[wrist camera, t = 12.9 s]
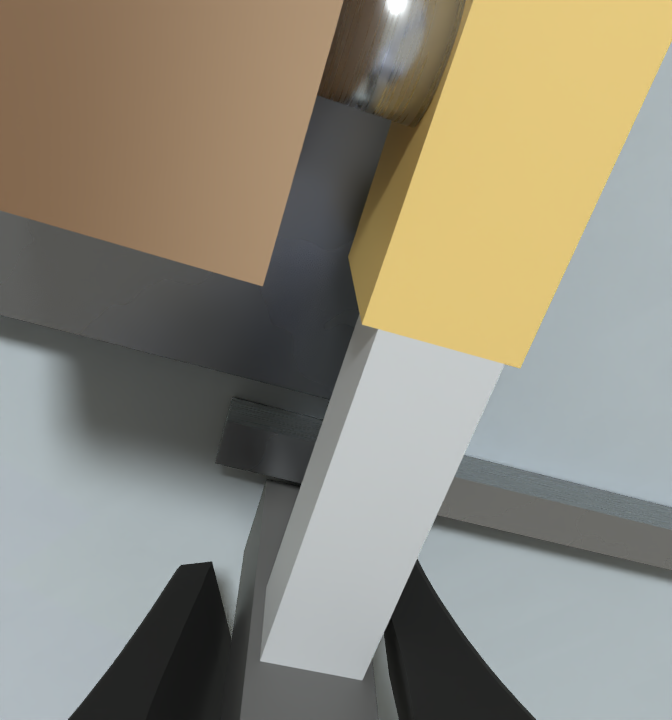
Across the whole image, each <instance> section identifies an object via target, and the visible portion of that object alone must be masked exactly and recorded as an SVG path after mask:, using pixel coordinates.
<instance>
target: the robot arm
mask: <svg viewBox="0 0 672 720" xmlns="http://www.w3.org/2000/svg"><path fill="white" fill-rule="evenodd" d="M384 638H385V646H386V654H387V661H388V669H389V676H390V681H391V685H392V690H393V694H394V699H395V703H396V708H397V713H398V717H399V720H536V719H535V718H534V717H533V716H532V715H531V714H530V713H529V712H528V710H527V709H526V708H525V707H524V706H523V705H522V704H521V703H520V702H519V701H518V700H517V699H516V698H515V696H514V695H513V694H512V693H511V692H510V691H509V690H508V689H507V687H506V686H505V685H504V684H503V683H502V682H501V681H500V679H499V678H498V677H497V676H496V675H495V673H494V672H493V671H492V670H491V669H490V667H489V666H488V665H487V664H486V662H485V661H484V660H483V659H482V657H481V656H480V655H479V653H478V652H477V651H476V650H475V648H474V647H473V646H472V644H471V643H470V642H469V640H468V639H467V638H466V636H465V635H464V634H463V632H462V631H461V629H460V628H459V627H458V625H457V624H456V622H455V621H454V619H453V618H452V616H451V615H450V613H449V612H448V610H447V609H446V607H445V606H444V604H443V603H442V601H441V600H440V598H439V597H438V595H437V593H436V592H435V590H434V589H433V587H432V585H431V583H430V582H429V580H428V578H427V576H426V575H425V573H424V571H423V569H422V567H421V565H420V563H419V561H418V559H417V560H416V562H415V565H414V567H413V569H412V571H411V573H410V576H409V578H408V580H407V582H406V585H405V587H404V589H403V591H402V593H401V596H400V598H399V600H398V602H397V605H396V607H395V609H394V611H393V613H392V616H391V618H390V620H389V622H388V625H387V627H386V629H385V631H384ZM230 648H231V636H230V632H229V628H228V624H227V620H226V616H225V612H224V608H223V604H222V600H221V596H220V592H219V588H218V584H217V580H216V576H215V572H214V568H213V564H212V562H204V563H195V564H186V565H181V566H180V567H179V568H178V569H177V570H176V572H175V573H174V575H173V576H172V578H171V579H170V581H169V582H168V584H167V585H166V587H165V589H164V590H163V592H162V593H161V595H160V596H159V598H158V599H157V601H156V602H155V604H154V605H153V607H152V608H151V610H150V611H149V613H148V614H147V616H146V617H145V619H144V620H143V622H142V623H141V625H140V626H139V627H138V629H137V630H136V632H135V633H134V635H133V636H132V637H131V639H130V640H129V642H128V643H127V644H126V646H125V647H124V649H123V650H122V651H121V653H120V654H119V656H118V657H117V658H116V660H115V661H114V662H113V664H112V665H111V666H110V668H109V669H108V670H107V672H106V673H105V674H104V675H103V677H102V678H101V679H100V680H99V682H98V683H97V684H96V686H95V687H94V688H93V689H92V691H91V692H90V693H89V695H88V696H87V697H86V698H85V700H84V701H83V702H82V703H81V705H80V706H79V707H78V708H77V709H76V711H75V712H74V713H73V714H72V715H71V717H70V718H69V719H68V720H220V719H221V712H222V705H223V698H224V690H225V683H226V676H227V669H228V662H229V655H230Z"/></svg>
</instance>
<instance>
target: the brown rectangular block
mask: <svg viewBox="0 0 672 720" xmlns="http://www.w3.org/2000/svg"><path fill="white" fill-rule="evenodd" d="M465 2H466V0H0V211H4V212H7V213H11V214H14V215H18V216H21V217H25V218H28V219H31V220H35V221H38V222H42V223H45V224H49V225H52V226H56V227H59V228H62V229H66V230H69V231H73V232H76V233H80V234H83V235H87V236H90V237H94V238H97V239H100V240H104V241H107V242H111V243H114V244H118V245H121V246H125V247H128V248H132V249H135V250H138V251H142V252H145V253H149V254H152V255H156V256H159V257H163V258H166V259H170V260H173V261H176V262H180V263H183V264H187V265H190V266H194V267H197V268H201V269H204V270H208V271H211V272H214V273H218V274H221V275H225V276H228V277H232V278H235V279H239V280H242V281H246V282H249V283H252V284H256V285H259V286H263V284H264V281H265V277H266V273H267V270H268V266H269V263H270V259H271V256H272V252H273V249H274V245H275V242H276V238H277V235H278V231H279V227H280V224H281V220H282V217H283V213H284V210H285V206H286V203H287V199H288V196H289V192H290V189H291V185H292V181H293V178H294V174H295V171H296V167H297V164H298V160H299V157H300V153H301V150H302V146H303V143H304V139H305V135H306V132H307V128H308V125H309V121H310V118H311V114H312V111H313V107H314V104H315V100H316V97H317V95H318V96H321V97H324V98H327V99H330V100H333V101H335V102H338V103H341V104H344V105H347V106H350V107H353V108H356V109H359V110H362V111H365V112H368V113H371V114H374V115H376V116H379V117H382V118H385V119H388V120H391V121H394V122H397V123H400V124H403V125H406V126H409V127H412V128H413V127H415V126H416V125H417V124H418V123H419V121H420V120H421V118H422V117H423V115H424V114H425V112H426V110H427V108H428V106H429V104H430V102H431V100H432V98H433V96H434V94H435V91H436V89H437V87H438V85H439V82H440V80H441V77H442V75H443V72H444V70H445V67H446V65H447V62H448V59H449V56H450V54H451V51H452V48H453V45H454V42H455V39H456V36H457V32H458V29H459V26H460V22H461V19H462V15H463V11H464V7H465Z"/></svg>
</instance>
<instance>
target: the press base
mask: <svg viewBox="0 0 672 720" xmlns="http://www.w3.org/2000/svg"><path fill="white" fill-rule="evenodd" d="M391 122H392V121H391V120H388V119H385V118H382V117H379V116H376V115H374V114H371V113H368V112H365V111H362V110H359V109H356V108H353V107H350V106H347V105H344V104H341V103H338V102H335V101H333V100H330V99H327V98H324V97H321V96H318V95H317V97H316V100H315V104H314V107H313V111H312V114H311V118H310V121H309V125H308V128H307V132H306V135H305V139H304V143H303V146H302V150H301V153H300V157H299V160H298V164H297V167H296V171H295V174H294V178H293V181H292V185H291V189H290V192H289V196H288V199H287V203H286V206H285V210H284V213H283V217H282V220H281V224H280V227H279V231H278V235H277V238H276V242H275V245H274V249H273V252H272V256H271V259H270V263H269V266H268V270H267V273H266V277H265V281H264V284H263V286H259V285H256V284H252V283H249V282H246V281H242V280H239V279H235V278H232V277H228V276H225V275H221V274H218V273H214V272H211V271H208V270H204V269H201V268H197V267H194V266H190V265H187V264H183V263H180V262H176V261H173V260H170V259H166V258H163V257H159V256H156V255H152V254H149V253H145V252H142V251H138V250H135V249H132V248H128V247H125V246H121V245H118V244H114V243H111V242H107V241H104V240H100V239H97V238H94V237H90V236H87V235H83V234H80V233H76V232H73V231H69V230H66V229H62V228H59V227H56V226H52V225H49V224H45V223H42V222H38V221H35V220H31V219H28V218H25V217H21V216H18V215H14V214H11V213H7V212H4V211H0V315H3V316H7V317H11V318H14V319H18V320H22V321H26V322H30V323H34V324H38V325H42V326H46V327H49V328H53V329H57V330H61V331H65V332H69V333H73V334H77V335H81V336H85V337H88V338H92V339H96V340H100V341H104V342H108V343H112V344H116V345H120V346H123V347H127V348H131V349H135V350H139V351H143V352H147V353H151V354H155V355H158V356H162V357H166V358H170V359H174V360H178V361H182V362H186V363H190V364H194V365H197V366H201V367H205V368H209V369H213V370H217V371H221V372H225V373H229V374H232V375H236V376H240V377H244V378H248V379H252V380H256V381H260V382H264V383H268V384H271V385H275V386H279V387H283V388H287V389H291V390H295V391H299V392H303V393H306V394H310V395H314V396H318V397H322V398H326V399H331V396H332V393H333V390H334V387H335V384H336V381H337V378H338V375H339V372H340V370H341V367H342V364H343V361H344V358H345V355H346V352H347V349H348V346H349V343H350V340H351V337H352V334H353V331H354V328H355V325H356V322H357V320H358V317H359V314H360V313H359V308H358V303H357V298H356V293H355V288H354V283H353V279H352V274H351V269H350V264H349V259H348V256H349V253H350V250H351V246H352V243H353V240H354V237H355V234H356V231H357V228H358V225H359V222H360V218H361V215H362V212H363V209H364V206H365V203H366V200H367V197H368V193H369V190H370V187H371V184H372V181H373V178H374V175H375V172H376V169H377V165H378V162H379V159H380V156H381V153H382V150H383V147H384V144H385V140H386V137H387V134H388V131H389V128H390V125H391ZM322 422H323V420H321V419H317V418H313V417H309V416H305V415H301V414H297V413H293V412H289V411H285V410H281V409H277V408H273V407H269V406H266V405H262V404H258V403H254V402H250V401H246V400H242V399H238V398H234V397H232V401H231V404H230V408H229V412H228V415H227V419H226V423H225V426H224V430H223V434H222V438H221V442H220V446H219V450H218V454H217V458H216V462H215V463H217V464H221V465H225V466H229V467H234V468H238V469H242V470H247V471H251V472H255V473H259V474H264V475H268V476H272V477H276V478H281V479H285V480H289V481H293V482H298V483H302V481H303V478H304V475H305V472H306V469H307V466H308V464H309V461H310V458H311V455H312V452H313V449H314V446H315V443H316V440H317V437H318V434H319V431H320V428H321V425H322ZM437 515H438V516H443V517H447V518H451V519H455V520H460V521H464V522H468V523H473V524H477V525H481V526H485V527H490V528H494V529H498V530H502V531H507V532H511V533H515V534H519V535H524V536H528V537H532V538H537V539H541V540H545V541H549V542H554V543H558V544H562V545H566V546H571V547H575V548H579V549H583V550H588V551H592V552H596V553H600V554H605V555H609V556H613V557H618V558H622V559H626V560H630V561H635V562H639V563H643V564H647V565H652V566H656V567H660V568H664V569H669V570H672V508H671V507H667V506H663V505H659V504H655V503H651V502H647V501H643V500H639V499H636V498H632V497H628V496H624V495H620V494H616V493H612V492H608V491H604V490H600V489H596V488H592V487H588V486H584V485H580V484H576V483H572V482H568V481H564V480H560V479H556V478H552V477H548V476H544V475H540V474H536V473H532V472H528V471H524V470H520V469H516V468H512V467H508V466H504V465H500V464H496V463H492V462H488V461H484V460H480V459H476V458H472V457H468V456H463V458H462V460H461V463H460V465H459V467H458V469H457V471H456V474H455V476H454V478H453V480H452V483H451V485H450V487H449V489H448V491H447V494H446V496H445V498H444V500H443V503H442V505H441V507H440V509H439V511H438V514H437Z"/></svg>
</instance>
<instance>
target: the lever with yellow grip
mask: <svg viewBox="0 0 672 720" xmlns="http://www.w3.org/2000/svg"><path fill="white" fill-rule="evenodd" d="M671 41H672V0H466V2H465V7H464V11H463V15H462V19H461V22H460V26H459V29H458V32H457V36H456V39H455V42H454V45H453V48H452V51H451V54H450V56H449V59H448V62H447V65H446V67H445V70H444V72H443V75H442V77H441V80H440V82H439V85H438V87H437V89H436V91H435V94H434V96H433V98H432V100H431V102H430V104H429V106H428V108H427V110H426V112H425V114H424V115H423V117H422V118H421V120H420V121H419V123H418V124H417V125H416V126H415V127H413V128H412V127H409V126H406V125H403V124H400V123H397V122H394V121H392V122H391V125H390V128H389V131H388V134H387V137H386V140H385V144H384V147H383V150H382V153H381V156H380V159H379V162H378V165H377V169H376V172H375V175H374V178H373V181H372V184H371V187H370V190H369V193H368V197H367V200H366V203H365V206H364V209H363V212H362V215H361V218H360V222H359V225H358V228H357V231H356V234H355V237H354V240H353V243H352V246H351V250H350V253H349V256H348V259H349V264H350V269H351V274H352V279H353V283H354V288H355V293H356V298H357V303H358V308H359V313H360V314H359V317H358V320H357V322H356V325H355V328H354V331H353V334H352V337H351V340H350V343H349V346H348V349H347V352H346V355H345V358H344V361H343V364H342V367H341V370H340V372H339V375H338V378H337V381H336V384H335V387H334V390H333V393H332V396H331V399H330V402H329V405H328V408H327V411H326V414H325V417H324V419H323V422H322V425H321V428H320V431H319V434H318V437H317V440H316V443H315V446H314V449H313V452H312V455H311V458H310V461H309V464H308V466H307V469H306V472H305V475H304V478H303V481H302V484H301V487H299V486H294V485H290V484H286V483H281V482H277V481H273V480H269V479H267V480H266V483H265V486H264V489H263V492H262V496H261V499H260V502H259V505H258V508H257V512H256V515H255V518H254V521H253V524H252V528H251V531H250V534H249V537H248V540H247V543H246V547H245V550H244V556H243V563H242V570H241V577H240V584H239V591H238V598H237V606H236V613H235V620H234V627H233V634H232V641H231V648H230V655H229V662H228V669H227V676H226V683H225V690H224V698H223V705H222V712H221V719H220V720H379V719H378V710H377V700H376V690H375V681H374V671H373V662H372V658H373V656H374V653H375V651H376V649H377V647H378V644H379V642H380V640H381V638H382V636H383V633H384V631H385V629H386V627H387V625H388V622H389V620H390V618H391V616H392V613H393V611H394V609H395V607H396V605H397V602H398V600H399V598H400V596H401V593H402V591H403V589H404V587H405V585H406V582H407V580H408V578H409V576H410V573H411V571H412V569H413V567H414V565H415V562H416V560H417V558H418V556H419V554H420V551H421V549H422V547H423V545H424V542H425V540H426V538H427V536H428V534H429V531H430V529H431V527H432V525H433V522H434V520H435V518H436V516H437V514H438V511H439V509H440V507H441V505H442V503H443V500H444V498H445V496H446V494H447V491H448V489H449V487H450V485H451V483H452V480H453V478H454V476H455V474H456V471H457V469H458V467H459V465H460V463H461V460H462V458H463V456H464V454H465V452H466V449H467V447H468V445H469V443H470V440H471V438H472V436H473V434H474V432H475V429H476V427H477V425H478V423H479V420H480V418H481V416H482V414H483V412H484V409H485V407H486V405H487V403H488V401H489V398H490V396H491V394H492V392H493V389H494V387H495V385H496V383H497V381H498V378H499V376H500V374H501V372H502V369H503V367H504V365H505V364H506V365H510V366H513V367H517V368H521V366H522V363H523V361H524V359H525V357H526V355H527V353H528V350H529V348H530V346H531V344H532V342H533V340H534V337H535V335H536V333H537V331H538V329H539V327H540V324H541V322H542V320H543V318H544V316H545V314H546V312H547V309H548V307H549V305H550V303H551V301H552V299H553V296H554V294H555V292H556V290H557V288H558V286H559V283H560V281H561V279H562V277H563V275H564V273H565V270H566V268H567V266H568V264H569V262H570V260H571V257H572V255H573V253H574V251H575V249H576V247H577V244H578V242H579V240H580V238H581V236H582V234H583V232H584V229H585V227H586V225H587V223H588V221H589V219H590V216H591V214H592V212H593V210H594V208H595V206H596V203H597V201H598V199H599V197H600V195H601V193H602V190H603V188H604V186H605V184H606V182H607V180H608V177H609V175H610V173H611V171H612V169H613V167H614V165H615V162H616V160H617V158H618V156H619V154H620V152H621V149H622V147H623V145H624V143H625V141H626V139H627V136H628V134H629V132H630V130H631V128H632V126H633V123H634V121H635V119H636V117H637V115H638V113H639V110H640V108H641V106H642V104H643V102H644V100H645V98H646V95H647V93H648V91H649V89H650V87H651V85H652V82H653V80H654V78H655V76H656V74H657V72H658V69H659V67H660V65H661V63H662V61H663V59H664V56H665V54H666V52H667V50H668V48H669V46H670V43H671Z"/></svg>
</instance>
